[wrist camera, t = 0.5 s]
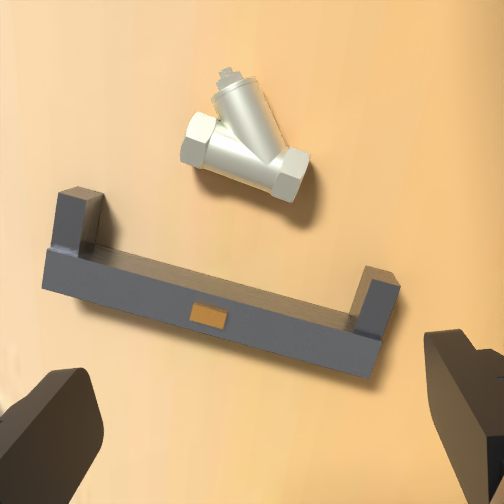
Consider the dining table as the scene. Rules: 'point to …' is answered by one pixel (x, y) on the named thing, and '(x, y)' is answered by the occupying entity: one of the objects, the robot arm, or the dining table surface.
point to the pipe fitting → (244, 140)
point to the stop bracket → (213, 296)
